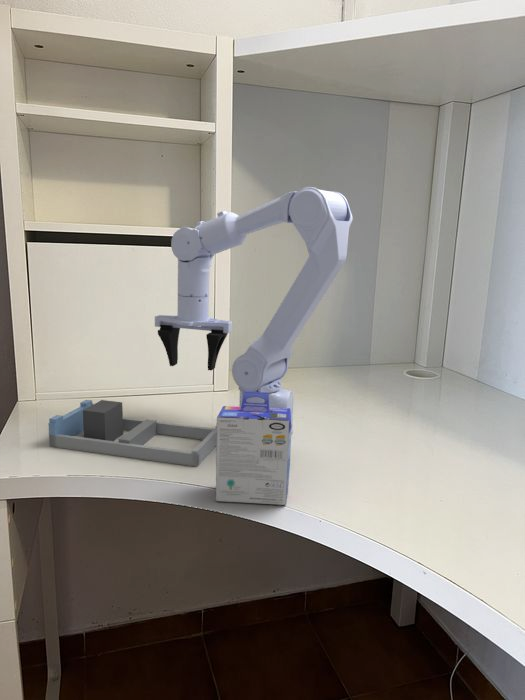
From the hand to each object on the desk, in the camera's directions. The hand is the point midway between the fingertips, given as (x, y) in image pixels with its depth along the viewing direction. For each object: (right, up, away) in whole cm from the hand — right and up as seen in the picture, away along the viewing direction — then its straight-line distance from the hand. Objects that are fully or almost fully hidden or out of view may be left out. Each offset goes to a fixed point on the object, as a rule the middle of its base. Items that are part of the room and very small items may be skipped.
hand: (192, 367), depth 103 cm
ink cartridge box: (+12, -17, -27) cm, 34 cm away
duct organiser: (-8, -13, -10) cm, 18 cm away
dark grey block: (-14, -12, -9) cm, 21 cm away
